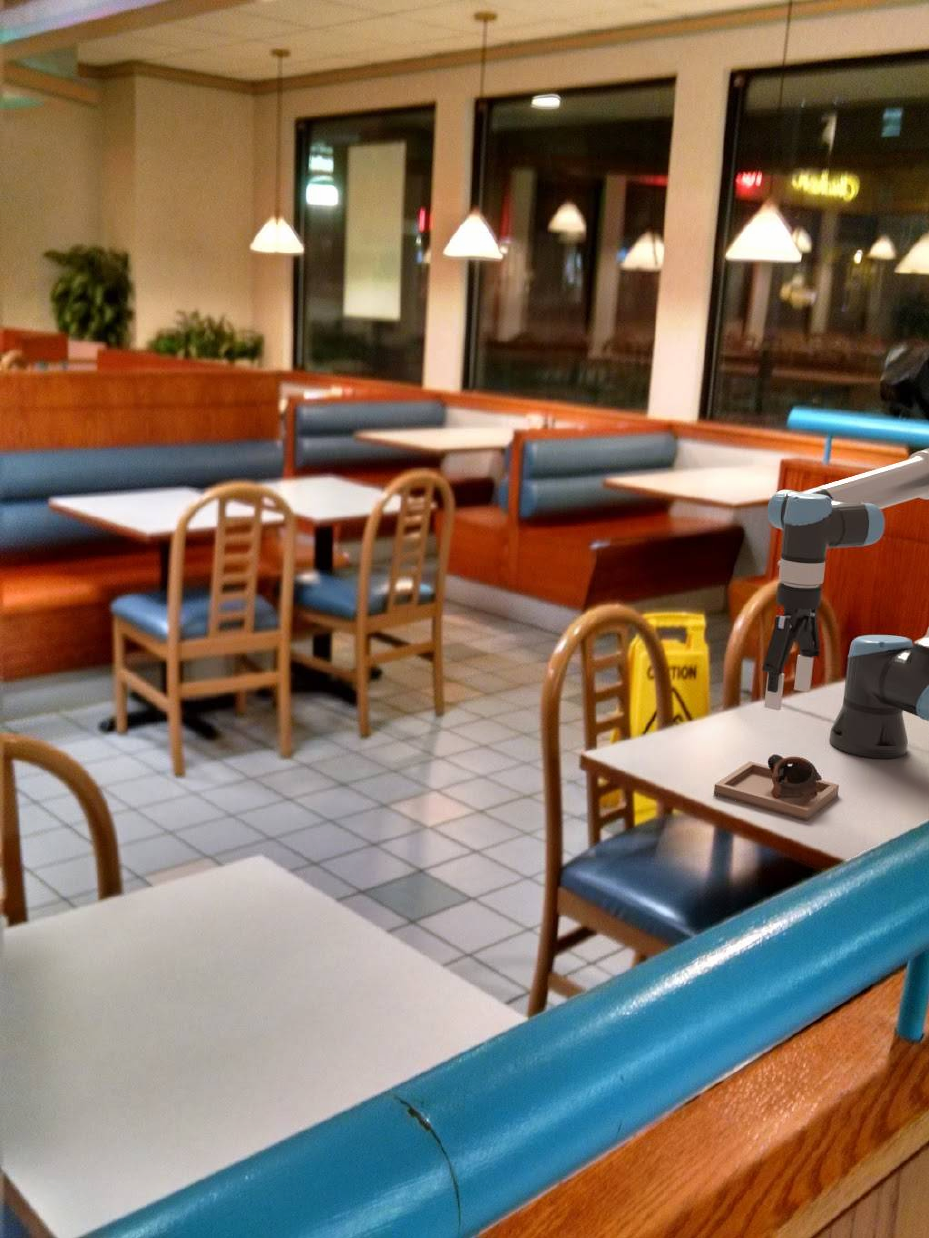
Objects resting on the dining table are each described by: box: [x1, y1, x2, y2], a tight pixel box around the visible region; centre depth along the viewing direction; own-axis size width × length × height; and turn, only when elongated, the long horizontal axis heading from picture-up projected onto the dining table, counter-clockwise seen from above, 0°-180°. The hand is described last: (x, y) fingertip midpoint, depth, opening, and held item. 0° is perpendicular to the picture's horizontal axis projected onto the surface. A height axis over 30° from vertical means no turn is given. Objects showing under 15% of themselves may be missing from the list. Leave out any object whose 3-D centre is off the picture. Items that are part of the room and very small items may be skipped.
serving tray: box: [713, 760, 840, 822], centre depth 220 cm, size 15×17×2 cm
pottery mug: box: [767, 754, 823, 799], centre depth 219 cm, size 12×10×8 cm
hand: (787, 699), depth 216 cm, fingers open, 13 cm apart
